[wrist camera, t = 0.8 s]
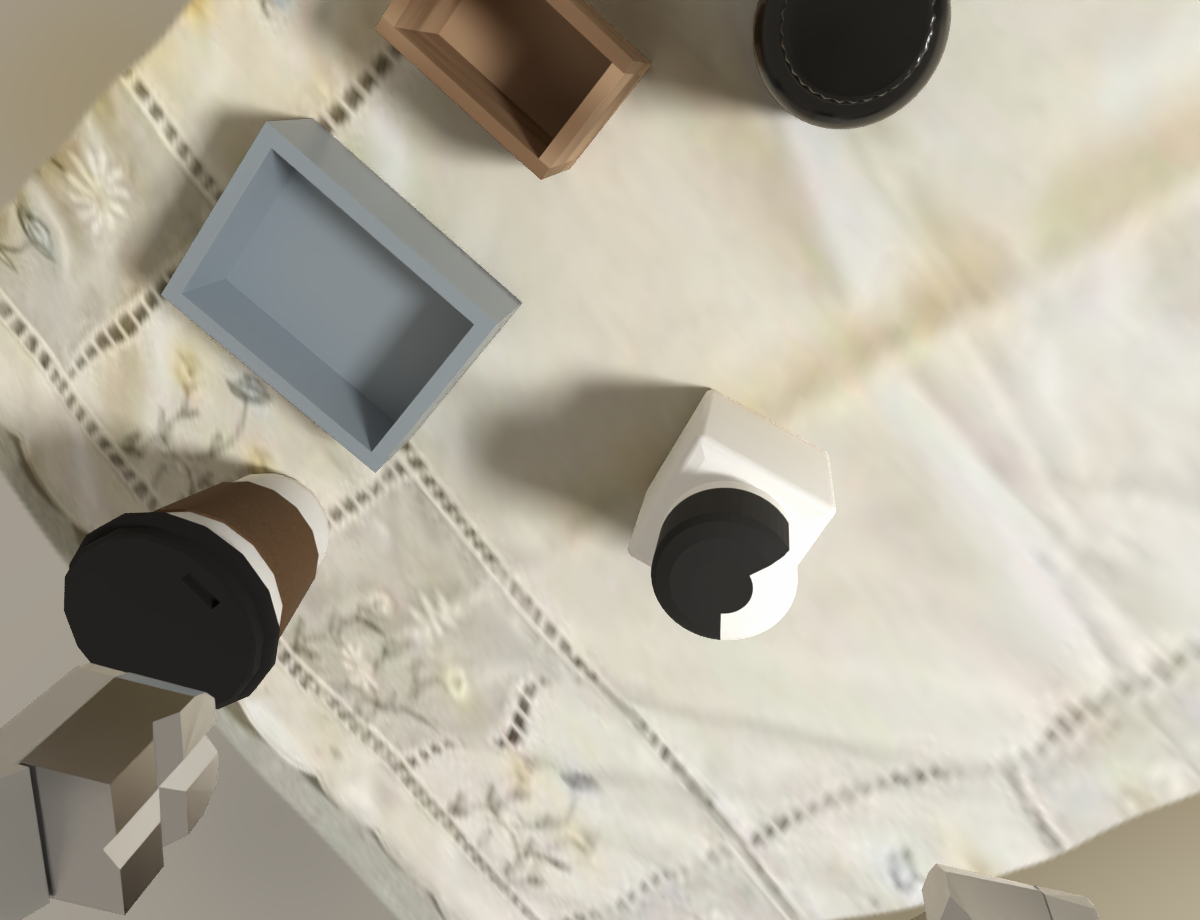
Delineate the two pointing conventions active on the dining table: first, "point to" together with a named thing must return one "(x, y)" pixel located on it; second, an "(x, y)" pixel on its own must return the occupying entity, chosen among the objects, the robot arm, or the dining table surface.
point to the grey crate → (337, 290)
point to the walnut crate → (521, 69)
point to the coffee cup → (199, 584)
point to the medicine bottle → (732, 520)
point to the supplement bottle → (848, 56)
